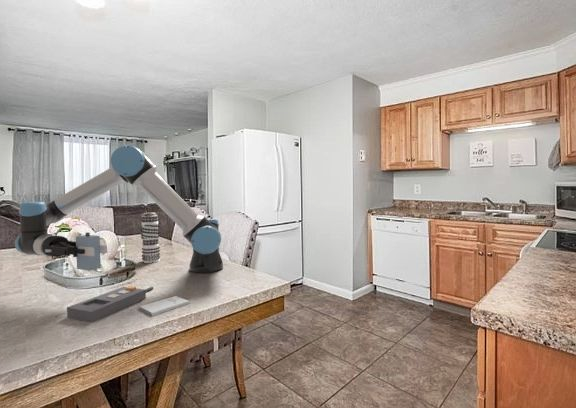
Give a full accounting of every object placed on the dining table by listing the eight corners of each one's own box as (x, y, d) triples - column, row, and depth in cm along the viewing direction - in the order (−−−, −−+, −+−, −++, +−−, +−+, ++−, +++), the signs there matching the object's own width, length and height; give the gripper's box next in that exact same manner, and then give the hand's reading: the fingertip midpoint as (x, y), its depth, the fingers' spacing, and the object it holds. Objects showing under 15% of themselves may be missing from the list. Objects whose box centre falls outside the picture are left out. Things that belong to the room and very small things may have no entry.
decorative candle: (164, 259, 164) (163, 212, 162) (150, 263, 156) (148, 213, 154) (152, 258, 168) (150, 211, 166) (137, 262, 159) (135, 213, 158)
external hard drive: (139, 311, 98) (175, 299, 108) (152, 318, 93) (188, 305, 103) (138, 306, 98) (175, 295, 108) (151, 312, 93) (188, 300, 102)
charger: (88, 266, 109) (86, 231, 109) (100, 267, 107) (99, 232, 106) (76, 268, 106) (75, 233, 105) (89, 270, 103) (88, 234, 103)
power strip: (142, 287, 119) (142, 277, 119) (163, 290, 116) (163, 280, 115) (67, 317, 92) (66, 304, 92) (91, 322, 89) (91, 309, 89)
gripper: (76, 251, 120) (121, 256, 112) (25, 261, 104) (75, 268, 96) (75, 232, 120) (121, 235, 112) (24, 239, 104) (74, 243, 96)
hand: (99, 250), depth 104 cm, fingers closed on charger, 4 cm apart
